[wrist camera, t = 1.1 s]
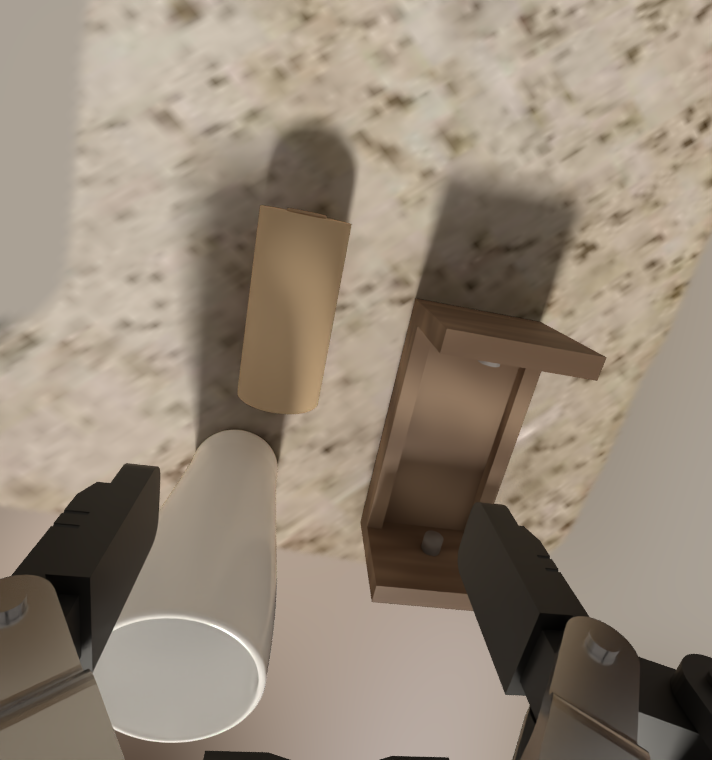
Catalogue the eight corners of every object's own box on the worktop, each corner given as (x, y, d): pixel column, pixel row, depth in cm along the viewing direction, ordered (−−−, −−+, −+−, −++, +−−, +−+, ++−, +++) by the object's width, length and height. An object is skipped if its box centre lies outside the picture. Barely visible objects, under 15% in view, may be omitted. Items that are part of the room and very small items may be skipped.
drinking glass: (161, 459, 30) (26, 685, 16) (237, 394, 29) (163, 577, 15) (237, 522, 32) (177, 770, 18) (310, 464, 31) (307, 681, 17)
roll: (265, 201, 25) (255, 202, 21) (348, 219, 26) (355, 223, 21) (243, 378, 29) (230, 409, 24) (317, 389, 29) (317, 421, 25)
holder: (415, 298, 27) (446, 328, 21) (540, 321, 29) (606, 357, 22) (360, 522, 33) (371, 602, 26) (467, 534, 34) (503, 613, 28)
